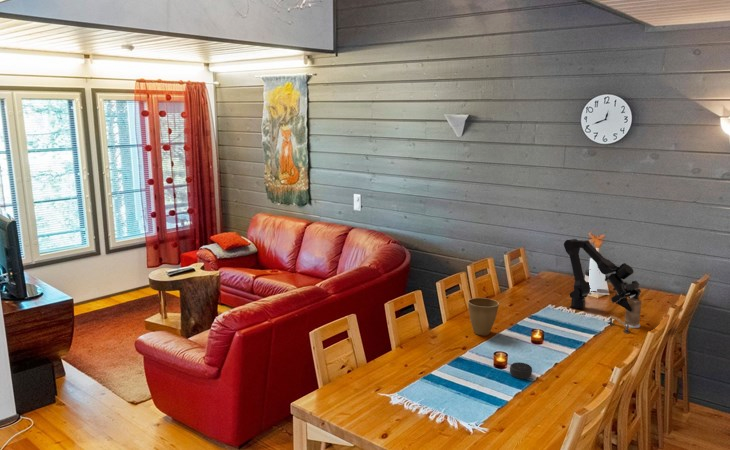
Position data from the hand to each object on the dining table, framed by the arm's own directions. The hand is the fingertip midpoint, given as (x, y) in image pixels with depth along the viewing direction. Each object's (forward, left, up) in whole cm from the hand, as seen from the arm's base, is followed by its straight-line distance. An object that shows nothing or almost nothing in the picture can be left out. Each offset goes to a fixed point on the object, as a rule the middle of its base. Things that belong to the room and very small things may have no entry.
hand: (635, 309), depth 303 cm
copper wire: (-5, -9, -9) cm, 13 cm away
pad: (-1, 0, -9) cm, 9 cm away
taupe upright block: (-1, 0, -8) cm, 8 cm away
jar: (-44, +47, -9) cm, 65 cm away
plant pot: (-50, -65, -9) cm, 82 cm away
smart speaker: (-12, -94, -9) cm, 95 cm away
